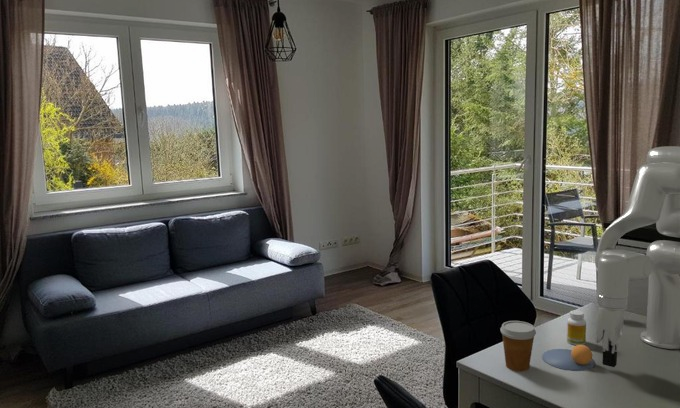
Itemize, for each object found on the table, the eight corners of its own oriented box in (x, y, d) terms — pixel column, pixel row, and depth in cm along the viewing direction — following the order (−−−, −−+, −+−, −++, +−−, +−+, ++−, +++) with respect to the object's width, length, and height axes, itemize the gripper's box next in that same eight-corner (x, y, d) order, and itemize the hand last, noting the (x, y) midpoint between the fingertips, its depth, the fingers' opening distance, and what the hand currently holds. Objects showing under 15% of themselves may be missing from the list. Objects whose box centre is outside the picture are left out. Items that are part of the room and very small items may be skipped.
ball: (590, 341, 152) (596, 360, 151) (571, 343, 155) (577, 362, 154) (586, 346, 147) (592, 366, 146) (566, 348, 150) (572, 368, 150)
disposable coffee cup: (493, 366, 151) (493, 326, 150) (511, 356, 157) (512, 317, 156) (523, 377, 144) (524, 335, 142) (541, 366, 150) (542, 326, 148)
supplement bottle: (587, 346, 162) (588, 315, 161) (568, 345, 164) (569, 315, 162) (583, 339, 168) (584, 309, 166) (564, 338, 169) (565, 309, 167)
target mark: (551, 345, 164) (551, 345, 164) (600, 357, 155) (600, 356, 155) (534, 361, 153) (534, 361, 153) (586, 375, 144) (586, 374, 144)
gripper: (604, 291, 152) (602, 352, 155) (589, 306, 141) (586, 371, 143) (633, 296, 147) (631, 358, 150) (620, 311, 136) (617, 379, 138)
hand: (609, 364), depth 147 cm, fingers closed
